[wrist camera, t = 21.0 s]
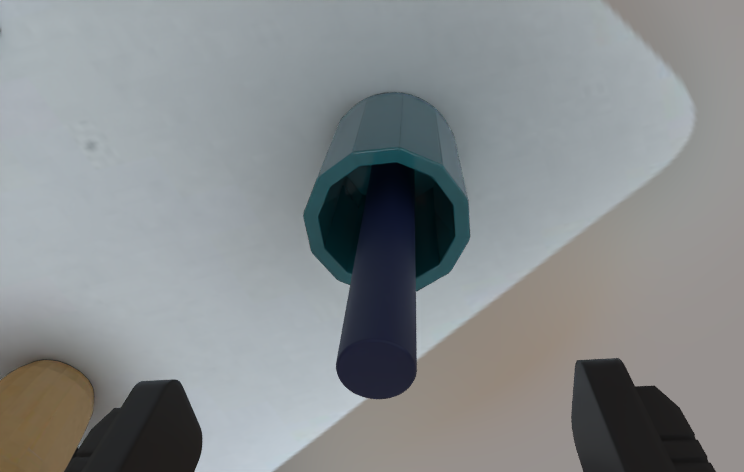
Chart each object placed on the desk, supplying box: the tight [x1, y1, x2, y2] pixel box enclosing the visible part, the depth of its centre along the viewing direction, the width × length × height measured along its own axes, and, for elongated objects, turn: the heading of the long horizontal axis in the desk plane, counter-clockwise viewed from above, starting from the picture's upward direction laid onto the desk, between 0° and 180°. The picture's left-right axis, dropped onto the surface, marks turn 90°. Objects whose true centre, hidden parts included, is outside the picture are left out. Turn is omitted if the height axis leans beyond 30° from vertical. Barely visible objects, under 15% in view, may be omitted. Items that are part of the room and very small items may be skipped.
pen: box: [336, 162, 417, 399], centre depth 17 cm, size 2×2×13 cm
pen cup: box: [303, 92, 470, 291], centre depth 20 cm, size 5×5×7 cm
